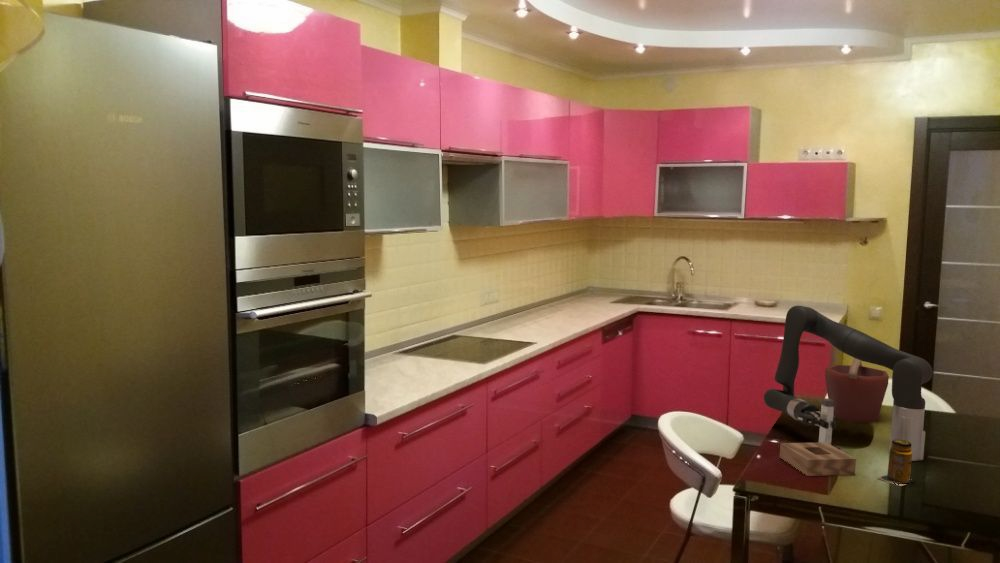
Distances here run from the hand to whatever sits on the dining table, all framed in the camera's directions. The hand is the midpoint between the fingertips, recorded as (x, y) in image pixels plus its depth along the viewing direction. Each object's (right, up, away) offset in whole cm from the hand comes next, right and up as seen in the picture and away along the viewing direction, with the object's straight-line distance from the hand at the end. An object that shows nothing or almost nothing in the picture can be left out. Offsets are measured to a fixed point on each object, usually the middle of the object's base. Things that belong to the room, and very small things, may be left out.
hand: (831, 425), depth 245 cm
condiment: (+11, -13, -20) cm, 26 cm away
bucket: (+32, -6, +49) cm, 59 cm away
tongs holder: (-9, -11, -10) cm, 18 cm away
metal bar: (-1, -10, +4) cm, 10 cm away
